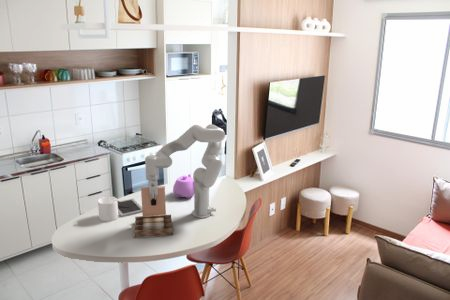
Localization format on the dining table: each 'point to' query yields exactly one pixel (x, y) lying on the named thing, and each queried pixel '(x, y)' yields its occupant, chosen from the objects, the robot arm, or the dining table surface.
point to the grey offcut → (153, 226)
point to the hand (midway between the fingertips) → (153, 203)
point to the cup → (108, 208)
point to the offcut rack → (153, 232)
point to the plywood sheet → (160, 202)
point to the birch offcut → (153, 220)
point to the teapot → (184, 187)
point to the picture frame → (128, 207)
